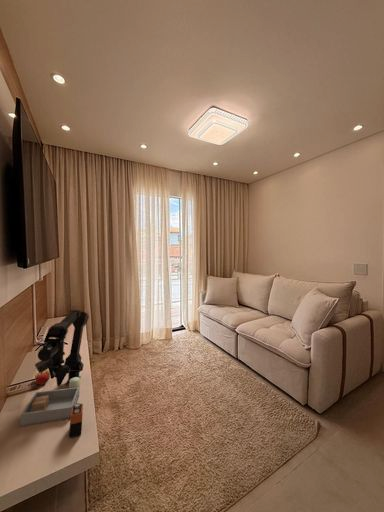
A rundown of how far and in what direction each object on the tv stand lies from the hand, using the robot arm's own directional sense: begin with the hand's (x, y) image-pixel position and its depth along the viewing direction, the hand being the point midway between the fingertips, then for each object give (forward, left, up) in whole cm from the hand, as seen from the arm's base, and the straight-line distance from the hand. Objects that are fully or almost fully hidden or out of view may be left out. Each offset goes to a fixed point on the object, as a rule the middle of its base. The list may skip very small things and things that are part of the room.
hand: (55, 382), depth 104 cm
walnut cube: (+5, -4, -10) cm, 12 cm away
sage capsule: (-7, +7, -11) cm, 15 cm away
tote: (+5, +1, -11) cm, 12 cm away
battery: (+21, +14, -11) cm, 27 cm away
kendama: (-26, -14, -11) cm, 31 cm away
